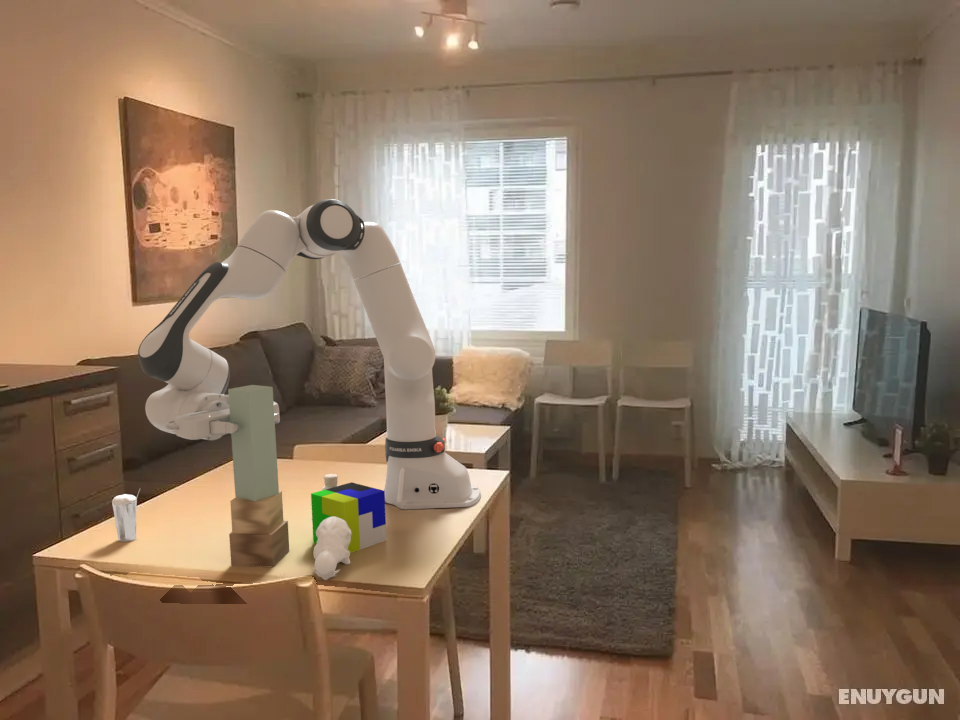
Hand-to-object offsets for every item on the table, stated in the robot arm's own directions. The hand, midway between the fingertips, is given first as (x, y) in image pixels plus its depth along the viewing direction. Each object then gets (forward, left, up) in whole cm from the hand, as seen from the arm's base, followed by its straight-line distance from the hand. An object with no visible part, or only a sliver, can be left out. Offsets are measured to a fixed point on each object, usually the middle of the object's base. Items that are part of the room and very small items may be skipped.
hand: (256, 423), depth 150 cm
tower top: (+1, 0, -20) cm, 20 cm away
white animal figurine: (-14, +5, -26) cm, 30 cm away
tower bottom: (+1, 0, -26) cm, 26 cm away
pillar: (+1, 0, -14) cm, 14 cm away
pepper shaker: (-7, -18, -26) cm, 32 cm away
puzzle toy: (-13, -10, -26) cm, 31 cm away
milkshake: (+32, -8, -26) cm, 42 cm away
